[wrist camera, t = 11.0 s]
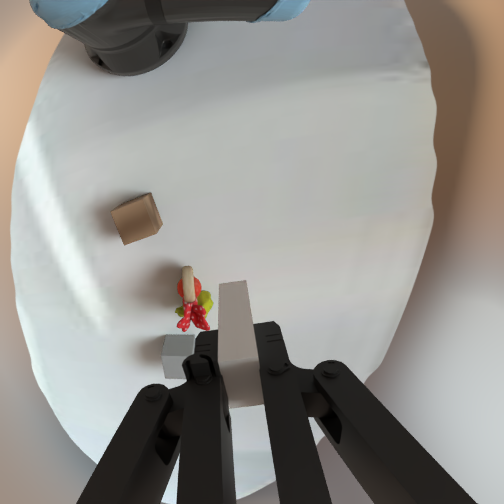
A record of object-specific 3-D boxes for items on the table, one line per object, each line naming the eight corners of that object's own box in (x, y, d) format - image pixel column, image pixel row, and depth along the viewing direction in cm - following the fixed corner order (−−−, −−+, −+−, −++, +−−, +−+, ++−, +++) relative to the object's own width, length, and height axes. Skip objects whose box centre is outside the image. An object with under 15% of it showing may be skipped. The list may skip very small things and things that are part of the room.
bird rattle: (170, 269, 50) (178, 324, 50) (152, 269, 39) (162, 338, 39) (208, 264, 51) (216, 320, 50) (200, 262, 40) (210, 333, 39)
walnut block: (121, 204, 44) (110, 211, 39) (151, 192, 44) (142, 199, 39) (133, 234, 46) (124, 245, 41) (163, 223, 46) (156, 233, 41)
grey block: (166, 334, 52) (160, 355, 47) (194, 334, 53) (191, 356, 47) (169, 356, 54) (165, 378, 48) (196, 356, 54) (194, 379, 49)
